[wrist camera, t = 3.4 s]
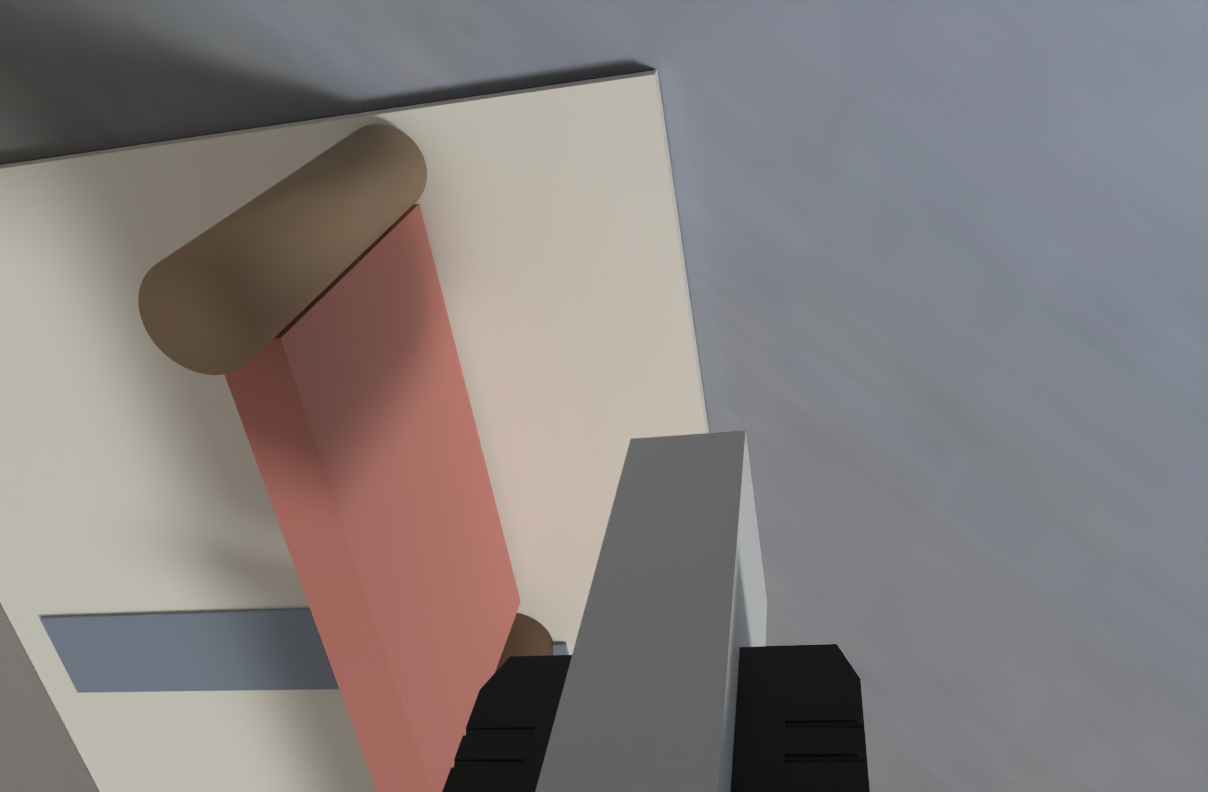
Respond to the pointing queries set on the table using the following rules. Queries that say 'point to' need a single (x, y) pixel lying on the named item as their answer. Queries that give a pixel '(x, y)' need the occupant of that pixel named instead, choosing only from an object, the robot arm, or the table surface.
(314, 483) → the fence gate
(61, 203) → the board
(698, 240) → the table surface
